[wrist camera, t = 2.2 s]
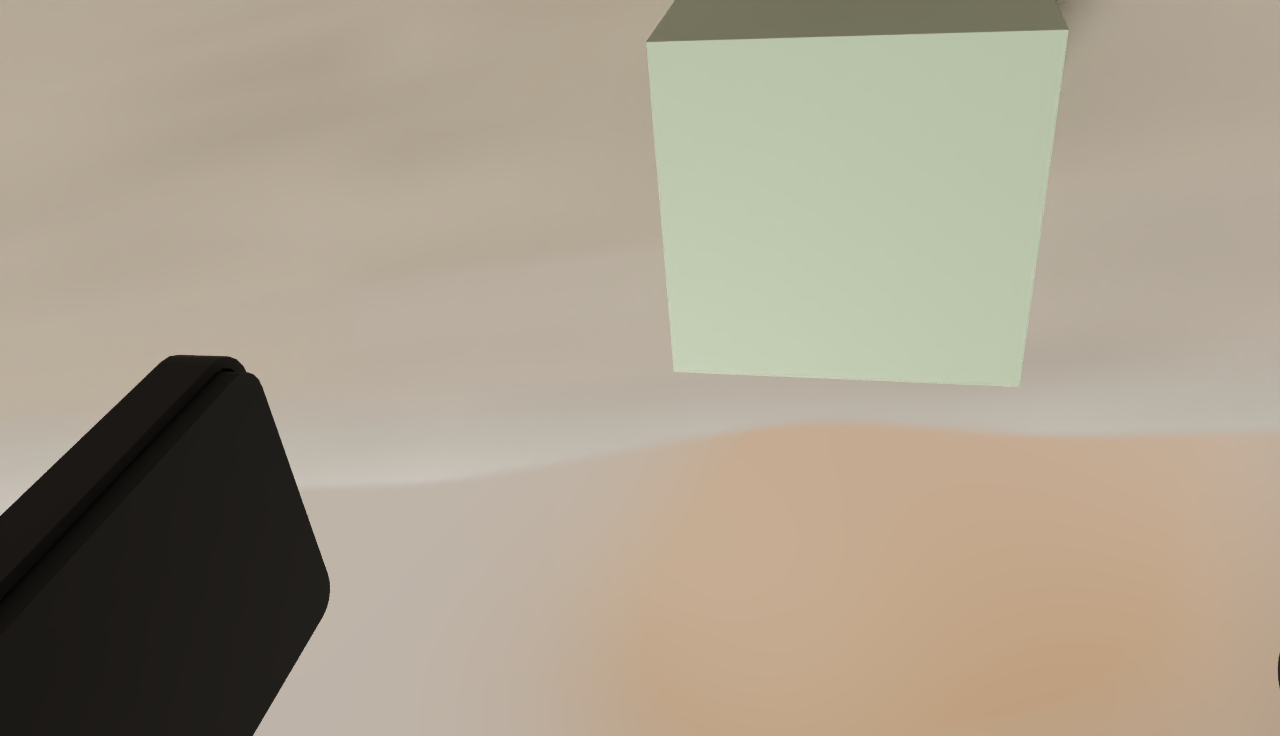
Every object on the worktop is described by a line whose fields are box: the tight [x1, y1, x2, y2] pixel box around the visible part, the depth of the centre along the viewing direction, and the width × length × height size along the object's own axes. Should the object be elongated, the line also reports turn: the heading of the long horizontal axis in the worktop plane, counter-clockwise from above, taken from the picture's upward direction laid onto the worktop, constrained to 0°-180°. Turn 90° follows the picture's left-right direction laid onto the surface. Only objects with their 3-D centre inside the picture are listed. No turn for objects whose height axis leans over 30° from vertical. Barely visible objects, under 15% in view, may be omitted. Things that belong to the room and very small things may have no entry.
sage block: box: [646, 0, 1069, 387], centre depth 17 cm, size 5×5×8 cm
